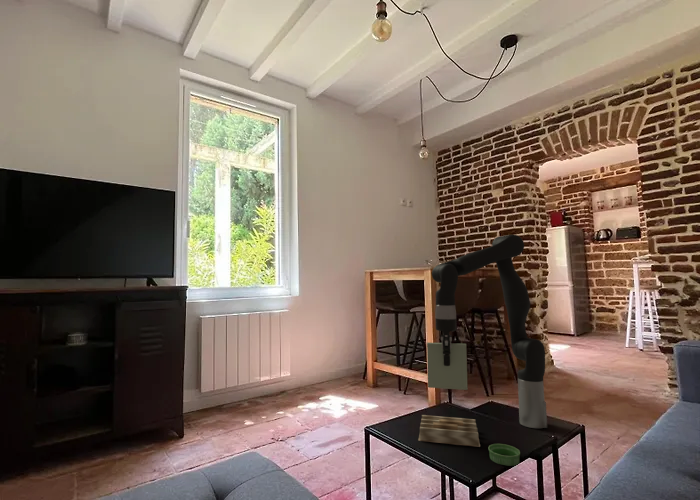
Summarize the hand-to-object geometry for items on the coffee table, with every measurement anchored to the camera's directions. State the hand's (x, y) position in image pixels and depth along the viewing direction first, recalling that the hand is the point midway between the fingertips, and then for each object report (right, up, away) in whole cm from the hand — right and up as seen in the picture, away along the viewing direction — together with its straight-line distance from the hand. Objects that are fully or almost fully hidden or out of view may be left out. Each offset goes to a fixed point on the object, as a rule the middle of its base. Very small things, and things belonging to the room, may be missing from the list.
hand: (446, 364), depth 138 cm
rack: (-1, -24, -7) cm, 25 cm away
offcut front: (-3, -22, -10) cm, 25 cm away
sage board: (0, -8, -1) cm, 8 cm away
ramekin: (+11, -23, -25) cm, 35 cm away
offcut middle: (0, -23, -7) cm, 24 cm away
